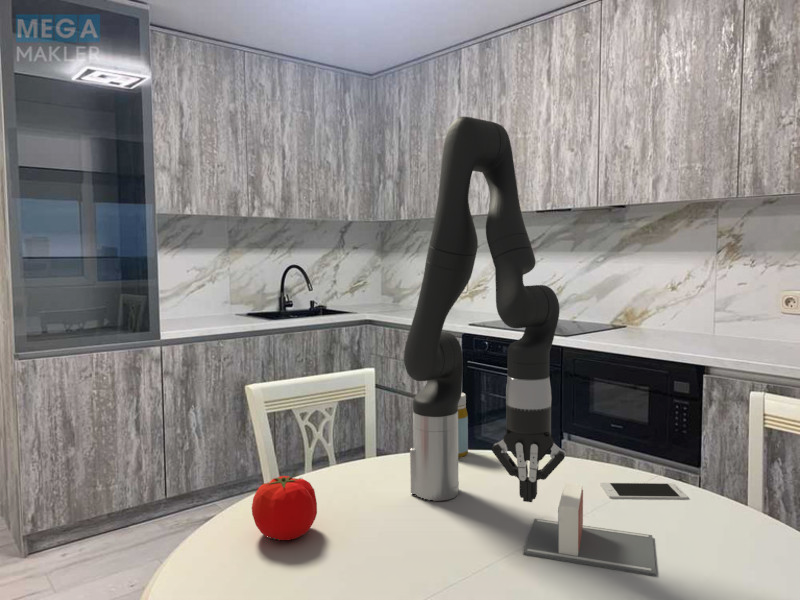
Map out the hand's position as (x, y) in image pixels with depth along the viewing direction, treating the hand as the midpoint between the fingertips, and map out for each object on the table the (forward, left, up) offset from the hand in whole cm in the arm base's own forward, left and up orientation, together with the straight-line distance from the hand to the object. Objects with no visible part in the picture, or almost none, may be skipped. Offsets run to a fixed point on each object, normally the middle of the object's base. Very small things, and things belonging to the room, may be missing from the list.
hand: (528, 500), depth 103 cm
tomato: (-41, -13, -7) cm, 43 cm away
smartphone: (+19, +27, -7) cm, 34 cm away
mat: (+10, 0, -6) cm, 12 cm away
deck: (+7, 0, -2) cm, 7 cm away
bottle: (-24, +37, -7) cm, 45 cm away
